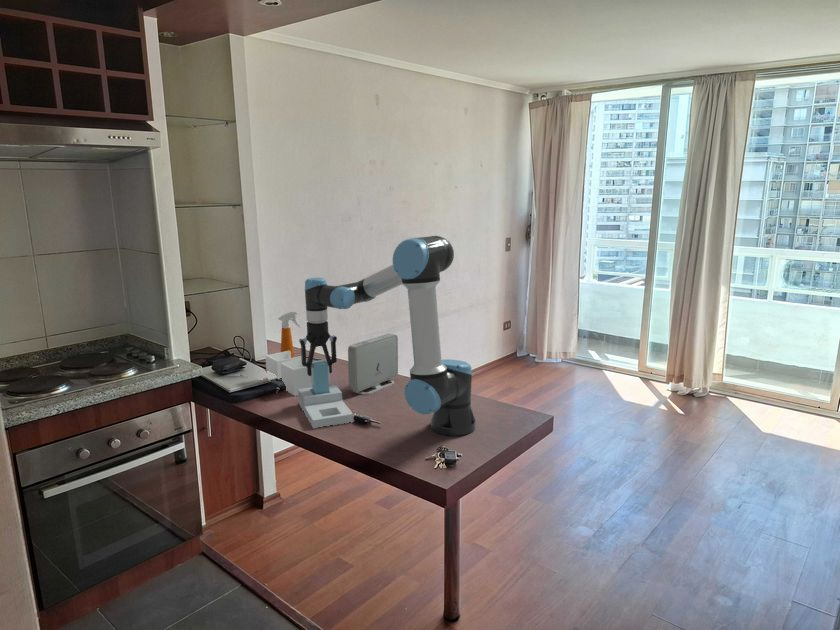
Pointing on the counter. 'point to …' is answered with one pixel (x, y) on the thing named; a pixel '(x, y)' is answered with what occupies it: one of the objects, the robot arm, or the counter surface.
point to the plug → (320, 377)
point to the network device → (373, 363)
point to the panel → (324, 407)
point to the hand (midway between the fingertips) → (320, 382)
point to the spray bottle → (288, 332)
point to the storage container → (289, 371)
